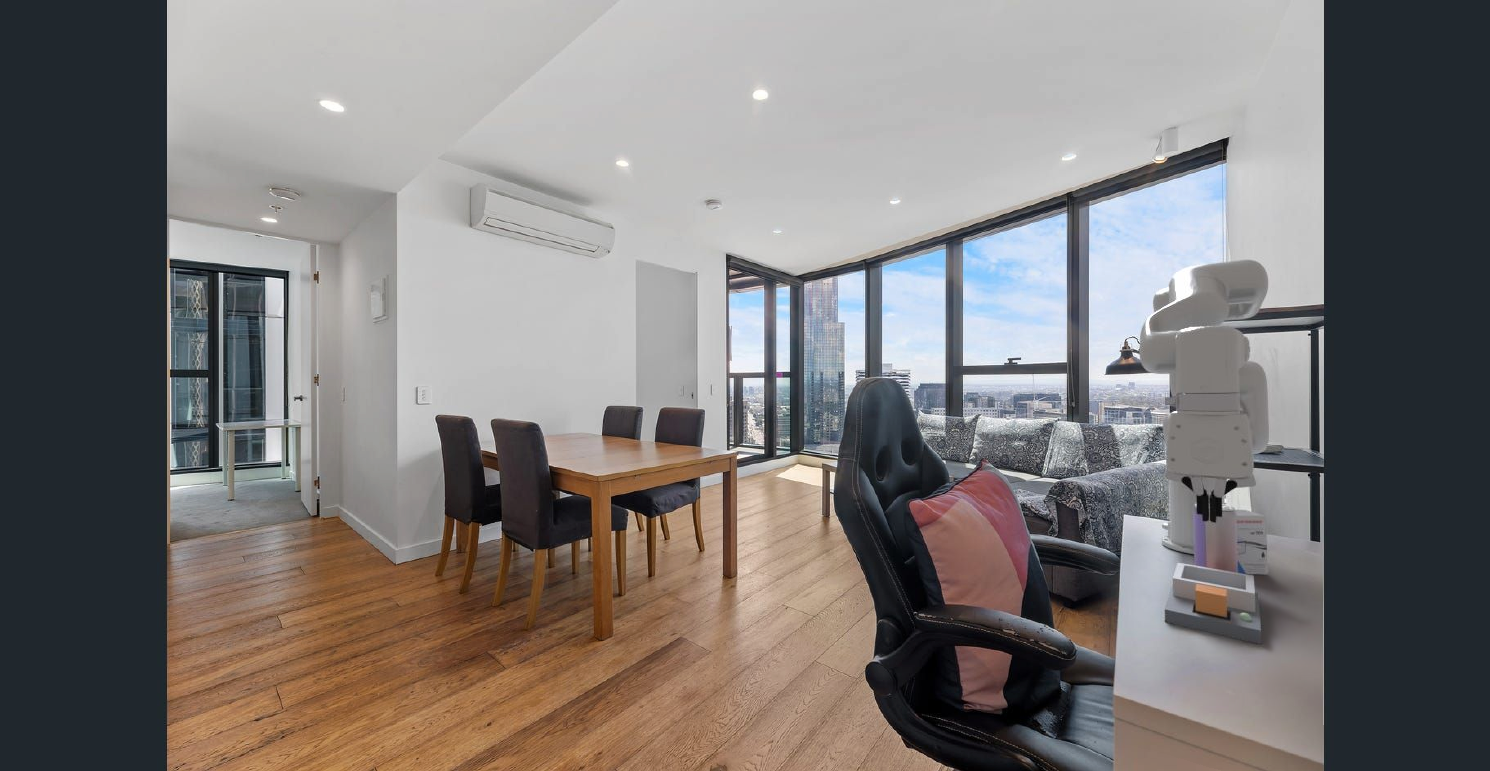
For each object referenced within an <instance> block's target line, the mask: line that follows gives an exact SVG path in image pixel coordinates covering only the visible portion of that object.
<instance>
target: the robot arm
mask: <svg viewBox="0 0 1490 771" xmlns="http://www.w3.org/2000/svg"><path fill="white" fill-rule="evenodd" d="M1268 291H1269V276H1268V272H1267V271H1266V268H1265V267H1264V265H1262V264H1261V263H1260V262H1259V261H1257V260H1253V259H1240V260H1232V261H1223V262H1214V263H1206V264H1198V265H1194V266H1193V265H1192V266H1189V267H1186V268H1183V269H1181V270H1180V271H1178V272H1176V273H1175V274H1174V275H1173V276H1172V277H1171V279H1170V281H1169V283H1168V287H1166V288H1165V287H1164V288H1162V289H1160V290H1159V291H1157V292H1156V293H1155V295H1154V296H1153V299H1152V305H1153V306H1152V307H1153V313H1152V314H1151V315H1150V316H1149V317H1148V318H1146V320H1145V321H1144V323H1143V325H1142V327H1141V331H1140V335H1139V336H1140V337H1139V352H1138V353H1139V359H1140V360H1139V361H1140V363H1141V366H1142V367H1143V368H1144V369H1145V371H1147V372H1149V373H1150V374H1151V373H1152V374H1156V375H1169V388H1170V393H1171V396H1170V397H1164V406H1170V407H1173V408H1175V411H1172V412H1170V413H1168V414H1167V415H1166V416H1165V417H1164V419H1163V421H1162V433H1163V437H1164V441H1165V446H1166V447H1165V448H1166V449H1165V464H1166V472H1165V475H1164V478H1165V479H1166V480H1168V499H1169V500H1168V502H1169V505H1168V506H1169V509H1168V510H1169V521H1168V522H1167V523H1162V525H1161V527H1162V529H1164V530H1165V531H1167V535H1165V536H1163V537H1161V544H1162V545H1163V546H1164V547H1166V548H1169V549H1171V550H1174V551H1177V552H1181V553H1185V554H1191V555H1194V508H1195V504H1196V503H1197V514H1200V515H1202V521H1206V522H1207V521H1209V504H1210V521H1212V522H1214V523H1216V520H1217V517H1222V505H1226V503H1225V502H1226V500H1225V495H1227V494H1229V493H1230V492H1232V491H1233V490H1235V489H1237V488H1242V489H1243V488H1250V487H1255V486H1256V485H1257V481H1256V478H1255V475H1254V467H1255V464H1254V462H1255V461H1254V455H1257V454H1258V455H1259V454H1260V453H1262V452H1263V453H1264V452H1265V450H1267V448H1268V445H1269V437H1270V429H1269V428H1270V427H1269V426H1270V425H1269V424H1270V423H1269V400H1268V399H1269V398H1268V397H1269V396H1268V392H1269V391H1268V379H1267V376H1266V372H1265V370H1264V368H1263V367H1262V366H1261V364H1259V363H1257V362H1256V361H1251V360H1249V359H1250V356H1251V354H1250V353H1251V346H1250V340H1249V338H1248V336H1245V335H1244V333H1243V332H1242V331H1240V330H1239V329H1237V328H1234V327H1232V326H1230V325H1223V323H1224V322H1225V321H1234V320H1235V321H1236V320H1247V319H1250V318H1253V317H1255V316H1256V315H1257V314H1258V313H1259V311H1260V309H1261V307H1262V305H1263V303H1264V301H1265V299H1266V296H1267V294H1268Z"/></svg>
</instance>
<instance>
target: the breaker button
mask: <svg viewBox="0 0 1490 771" xmlns="http://www.w3.org/2000/svg"><path fill="white" fill-rule="evenodd" d="M1195 602H1196V611H1200V612H1205V613H1210V614H1214V615H1219V616H1223V617H1227V589H1222V588H1217V587H1212V586H1206V585H1201V584H1196V589H1195Z"/></svg>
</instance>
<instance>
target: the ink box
mask: <svg viewBox="0 0 1490 771" xmlns="http://www.w3.org/2000/svg"><path fill="white" fill-rule="evenodd" d="M1235 512H1236V515H1237V560H1238V573H1241V574H1247V575H1268V574H1269V571H1268V570H1269V568H1268V567H1269V566H1268V564H1269V563H1268V543H1267V542H1268V541H1267V536H1268V535H1267V516H1266V515H1264V514H1260V513H1256V512H1254V511H1251V510H1247V509H1246V510H1245V509H1235Z"/></svg>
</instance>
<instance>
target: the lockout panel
mask: <svg viewBox="0 0 1490 771" xmlns="http://www.w3.org/2000/svg"><path fill="white" fill-rule="evenodd" d="M1254 578H1255V575H1254V574H1241V573H1236V572H1230V571H1224V570H1218V569H1212V568H1206V567H1201V566H1195V564H1188V563H1181V562H1177V564H1176V567H1175V570H1174V574H1173V576H1172V585H1171V588H1170V591H1169V595H1168V598H1167V601H1166V605H1165V607H1164V622H1165V623H1170V624H1173V625H1178V626H1182V627H1186V628H1191V629H1194V630H1199V631H1203V632H1208V633H1211V634H1216V635H1220V636H1224V637H1229V638H1233V639H1237V640H1242V641H1246V642H1250V643H1255V644H1259V645H1262V625H1261V612H1260V602H1259V592H1256V590H1255V579H1254ZM1196 584H1201V585H1206V586H1212V587H1217V588H1222V589H1227V617H1223V616H1219V615H1214V614H1210V613H1205V612H1200V611H1196V602H1195V589H1196Z"/></svg>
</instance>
